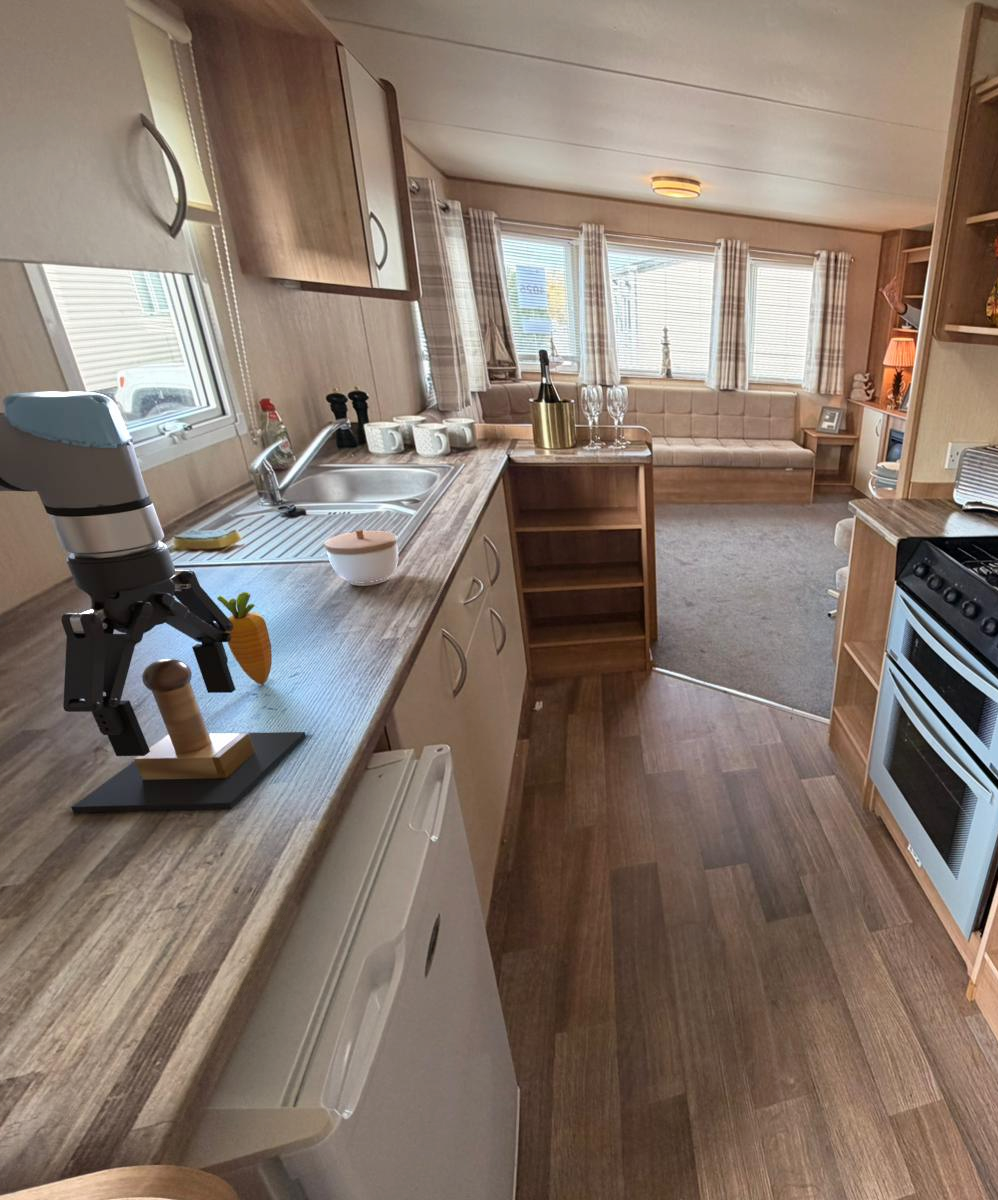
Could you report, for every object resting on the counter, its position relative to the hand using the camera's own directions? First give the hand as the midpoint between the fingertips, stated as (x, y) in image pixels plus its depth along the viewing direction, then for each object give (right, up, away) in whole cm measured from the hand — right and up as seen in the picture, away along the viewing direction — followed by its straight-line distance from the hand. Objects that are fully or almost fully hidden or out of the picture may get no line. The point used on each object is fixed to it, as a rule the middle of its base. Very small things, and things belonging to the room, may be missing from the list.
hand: (181, 720), depth 75 cm
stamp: (0, -6, +3) cm, 7 cm away
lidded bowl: (-19, +18, +61) cm, 67 cm away
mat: (0, -7, +3) cm, 7 cm away
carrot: (-9, +1, +21) cm, 23 cm away
